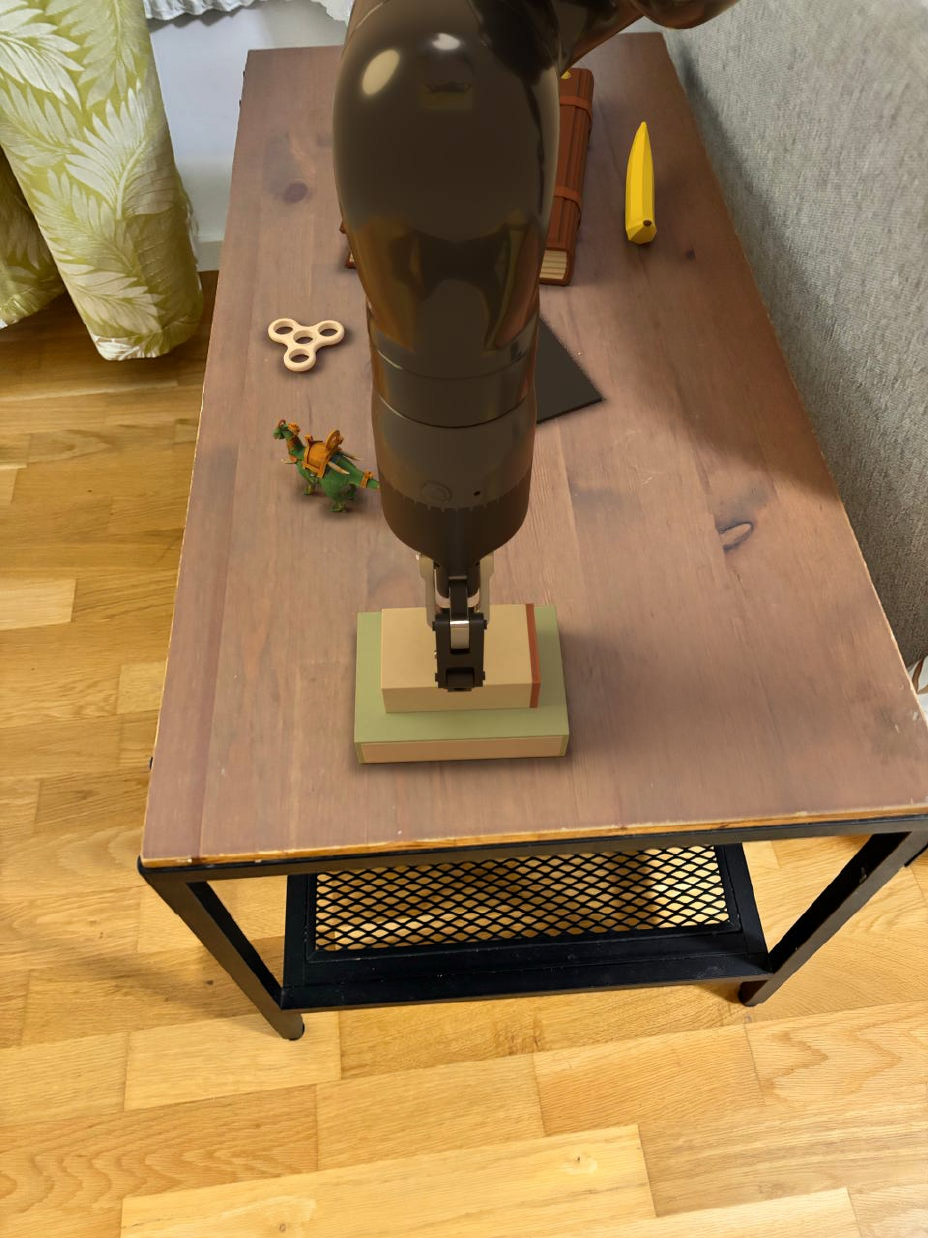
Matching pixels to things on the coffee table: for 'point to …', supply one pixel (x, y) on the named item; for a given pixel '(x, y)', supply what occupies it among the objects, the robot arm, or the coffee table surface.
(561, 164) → the book
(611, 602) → the coffee table surface
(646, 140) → the banana
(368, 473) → the figurine
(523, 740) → the bottom book
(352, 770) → the coffee table surface
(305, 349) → the fidget spinner
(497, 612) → the top book
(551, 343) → the felt pad
